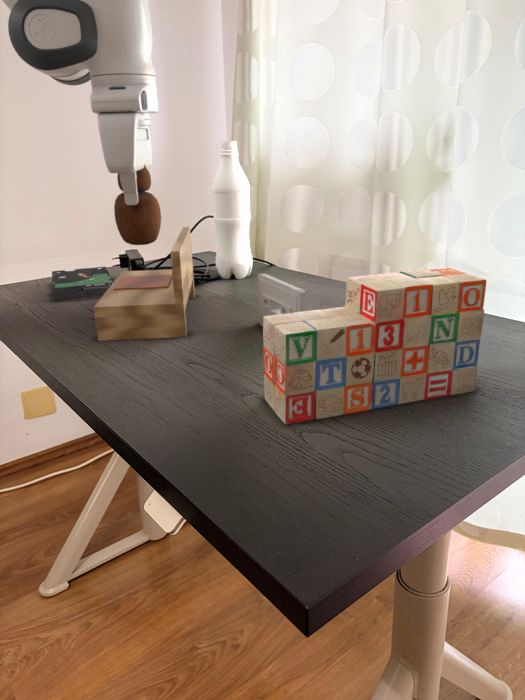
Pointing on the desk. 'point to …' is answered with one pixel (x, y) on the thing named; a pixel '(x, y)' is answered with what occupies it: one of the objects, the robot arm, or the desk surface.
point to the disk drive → (80, 283)
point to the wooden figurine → (138, 213)
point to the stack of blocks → (376, 345)
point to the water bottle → (231, 215)
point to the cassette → (278, 297)
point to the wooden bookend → (149, 299)
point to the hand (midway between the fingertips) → (136, 202)
